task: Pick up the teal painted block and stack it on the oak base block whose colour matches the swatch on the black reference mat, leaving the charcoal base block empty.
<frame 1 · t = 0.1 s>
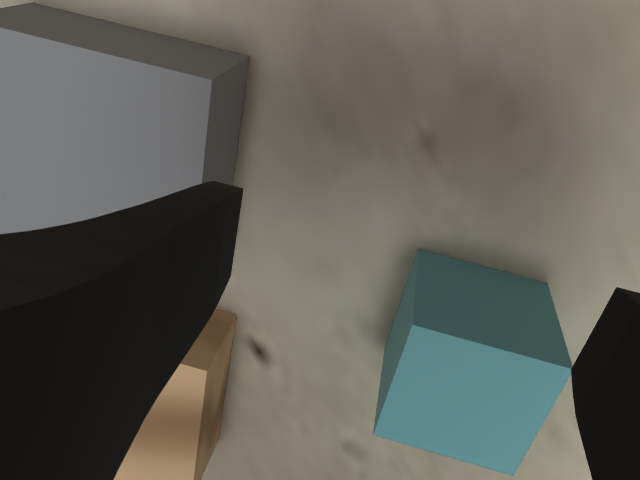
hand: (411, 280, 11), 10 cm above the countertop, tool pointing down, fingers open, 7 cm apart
teal block: (461, 316, 23), on the countertop
charcoal block: (138, 134, 22), on the countertop
oak block: (149, 354, 28), on the countertop
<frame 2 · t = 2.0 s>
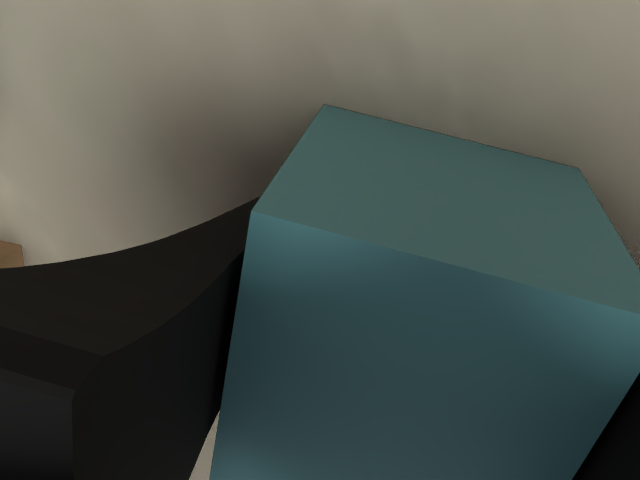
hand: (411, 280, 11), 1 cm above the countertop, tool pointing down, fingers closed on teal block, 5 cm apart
teal block: (413, 245, 12), on the countertop, touching gripper
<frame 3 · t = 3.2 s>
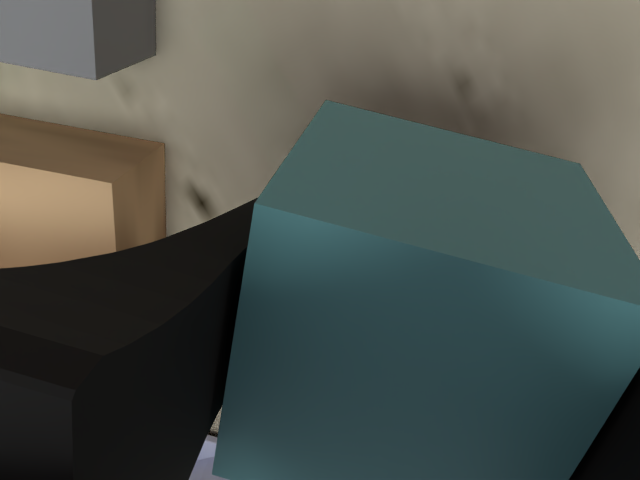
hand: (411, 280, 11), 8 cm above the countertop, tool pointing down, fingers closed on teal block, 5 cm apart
teal block: (415, 241, 12), point 7 cm above the countertop, touching gripper
oak block: (72, 220, 23), on the countertop
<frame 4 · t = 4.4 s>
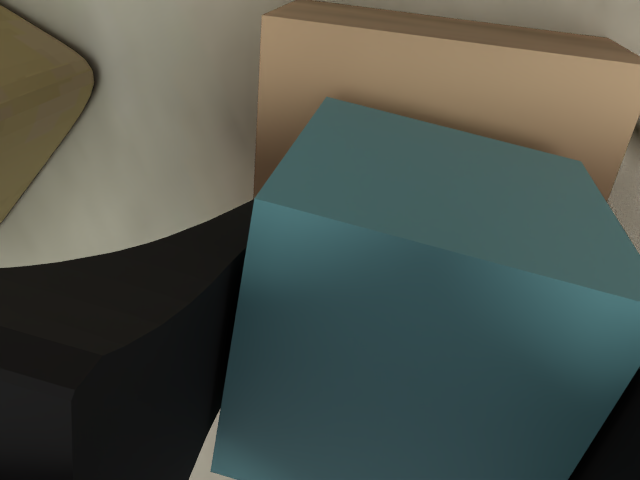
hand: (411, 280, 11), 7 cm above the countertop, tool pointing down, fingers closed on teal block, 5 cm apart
teal block: (415, 239, 12), point 5 cm above the countertop, touching gripper
oak block: (421, 158, 17), on the countertop
when the fingers open (7 cm above the countertop, at t = 4.9 s): teal block drops 1 cm, point 4 cm above the countertop.
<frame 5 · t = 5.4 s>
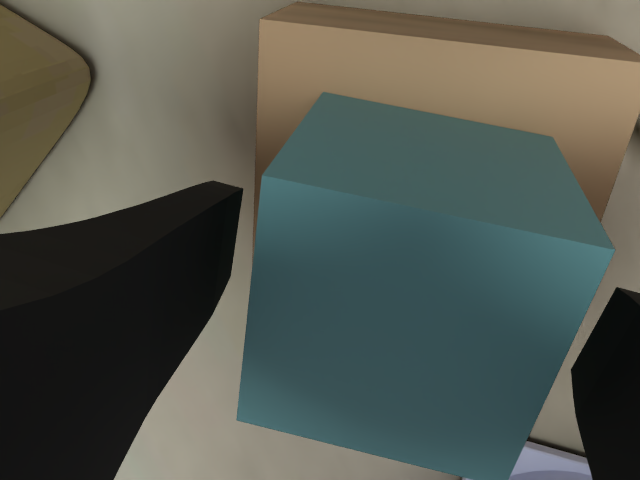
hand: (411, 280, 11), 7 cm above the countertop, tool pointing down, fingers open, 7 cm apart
teal block: (410, 215, 14), point 4 cm above the countertop
oak block: (422, 159, 17), on the countertop
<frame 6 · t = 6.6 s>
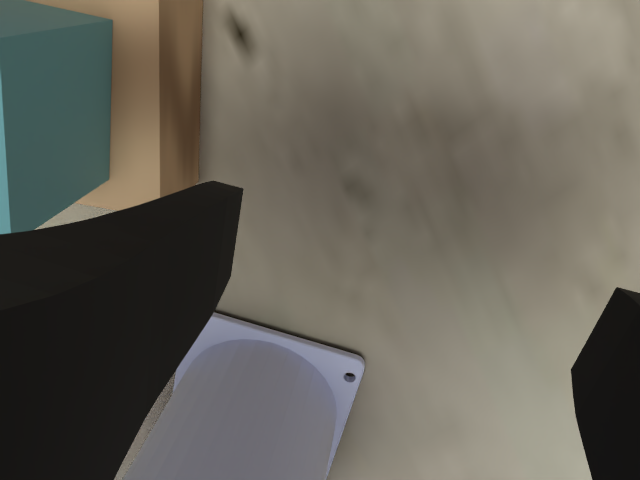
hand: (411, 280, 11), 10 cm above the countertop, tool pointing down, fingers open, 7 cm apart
teal block: (34, 87, 18), point 4 cm above the countertop
oak block: (100, 60, 21), on the countertop
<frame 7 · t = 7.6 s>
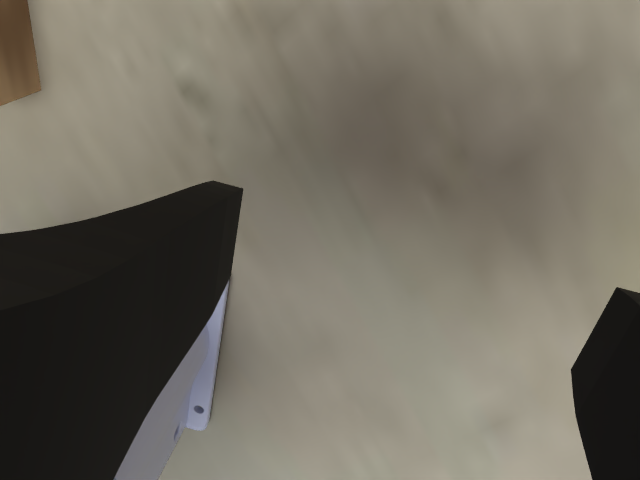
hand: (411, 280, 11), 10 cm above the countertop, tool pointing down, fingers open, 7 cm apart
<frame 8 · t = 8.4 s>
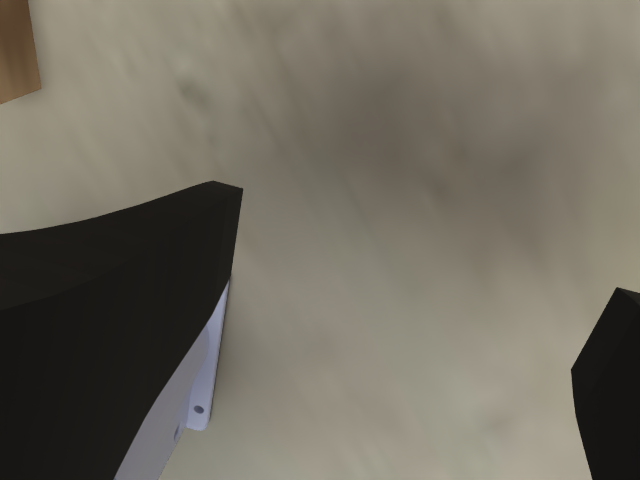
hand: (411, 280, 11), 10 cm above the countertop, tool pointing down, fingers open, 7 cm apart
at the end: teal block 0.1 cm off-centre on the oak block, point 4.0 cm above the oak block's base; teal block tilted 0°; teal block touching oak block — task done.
